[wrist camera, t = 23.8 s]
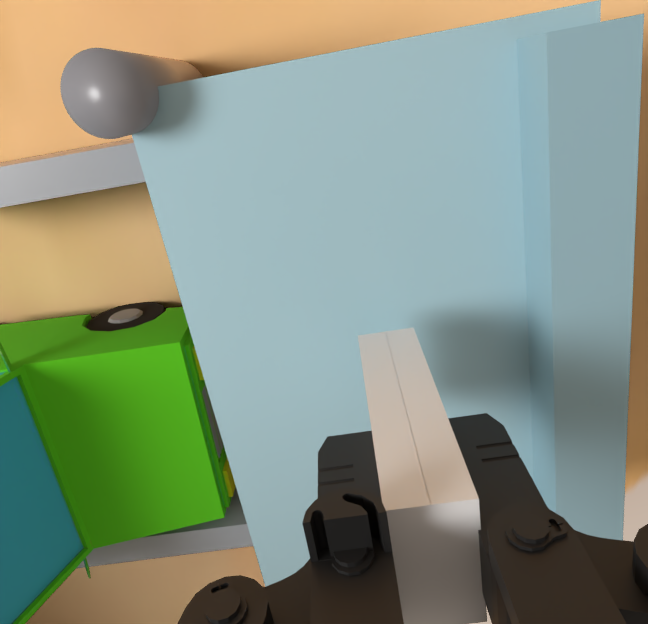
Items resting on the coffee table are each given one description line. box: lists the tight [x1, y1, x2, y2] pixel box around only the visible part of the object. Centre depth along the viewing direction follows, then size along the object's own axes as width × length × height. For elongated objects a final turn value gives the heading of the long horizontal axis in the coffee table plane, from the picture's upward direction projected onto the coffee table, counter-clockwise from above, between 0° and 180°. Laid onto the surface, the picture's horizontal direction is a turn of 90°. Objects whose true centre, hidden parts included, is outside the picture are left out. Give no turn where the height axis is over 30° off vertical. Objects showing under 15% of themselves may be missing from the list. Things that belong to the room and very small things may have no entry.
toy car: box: [0, 302, 236, 624], centre depth 20 cm, size 10×13×10 cm
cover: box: [61, 0, 644, 586], centre depth 19 cm, size 13×19×8 cm
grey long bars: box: [0, 139, 253, 568], centre depth 22 cm, size 24×16×4 cm
